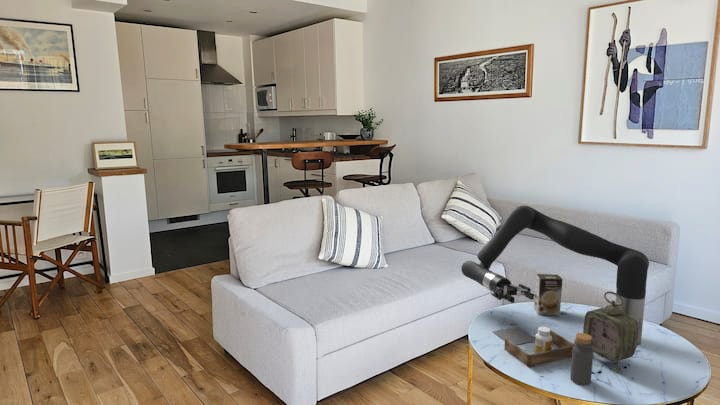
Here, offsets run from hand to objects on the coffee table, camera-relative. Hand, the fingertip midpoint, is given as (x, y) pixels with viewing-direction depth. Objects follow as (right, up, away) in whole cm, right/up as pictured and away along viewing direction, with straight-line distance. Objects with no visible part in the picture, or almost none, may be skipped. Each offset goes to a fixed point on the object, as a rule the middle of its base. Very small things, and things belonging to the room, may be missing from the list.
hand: (523, 298), depth 170 cm
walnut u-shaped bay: (+3, -18, -6) cm, 19 cm away
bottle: (+10, -21, -23) cm, 33 cm away
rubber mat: (-1, -16, +6) cm, 17 cm away
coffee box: (+19, -12, +27) cm, 35 cm away
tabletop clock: (+24, -19, -13) cm, 33 cm away
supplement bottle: (+4, -18, -7) cm, 20 cm away
